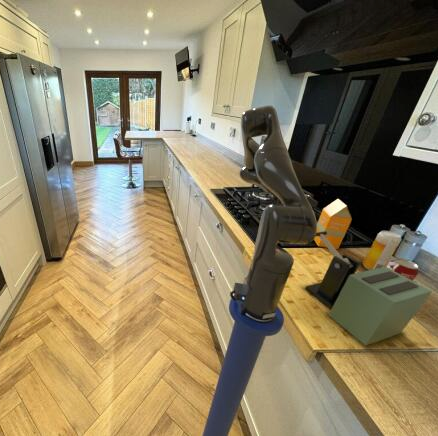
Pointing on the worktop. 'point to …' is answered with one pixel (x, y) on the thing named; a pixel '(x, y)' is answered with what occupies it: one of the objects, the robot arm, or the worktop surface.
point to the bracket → (333, 280)
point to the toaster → (377, 304)
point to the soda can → (404, 267)
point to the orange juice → (333, 223)
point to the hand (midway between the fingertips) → (305, 205)
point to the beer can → (381, 250)
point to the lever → (331, 247)
